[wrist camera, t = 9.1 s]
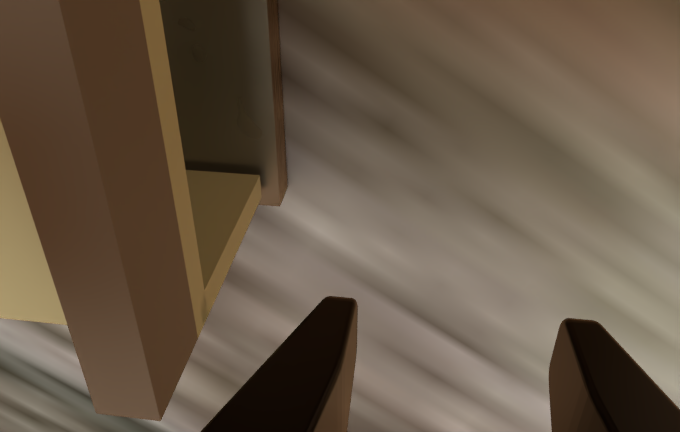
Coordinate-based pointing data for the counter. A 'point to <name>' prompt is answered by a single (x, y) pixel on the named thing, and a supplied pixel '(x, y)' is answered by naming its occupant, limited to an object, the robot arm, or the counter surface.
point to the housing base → (229, 88)
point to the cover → (108, 197)
